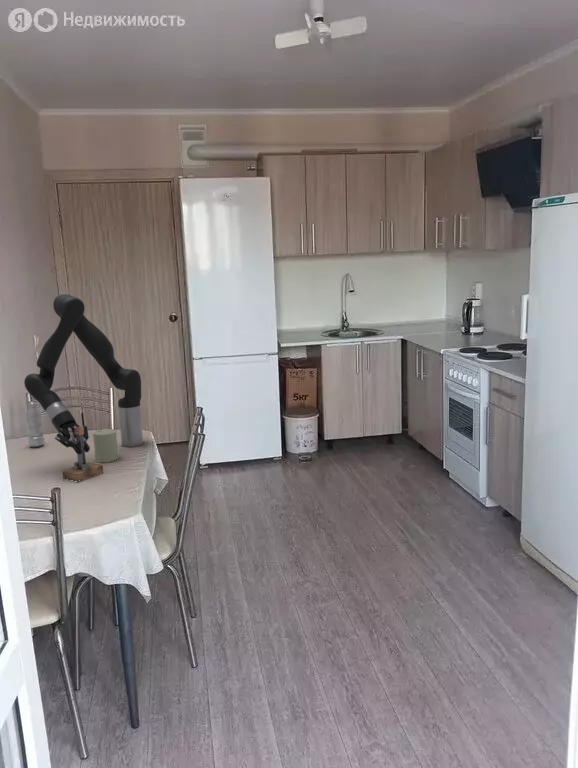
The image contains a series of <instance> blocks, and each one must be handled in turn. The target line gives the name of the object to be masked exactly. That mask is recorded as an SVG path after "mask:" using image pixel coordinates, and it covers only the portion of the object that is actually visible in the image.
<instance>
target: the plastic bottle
mask: <svg viewBox="0 0 578 768" xmlns="http://www.w3.org/2000/svg"><path fill="white" fill-rule="evenodd" d="M27 407H28V408H27V409H26V411H25V418H26V421H27V427H28V439H27V441H28V445H29V446H30V447H31V448H36V447H37V448H38V447H42V446H43V445H44V444H45V437H44V436H45V435H44V432H43V428H42V415H43V414H42V410H41V409H40V407H38V401H37V400H30V401H28V402H27Z"/></svg>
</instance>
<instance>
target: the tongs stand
mask: <svg viewBox="0 0 578 768" xmlns="http://www.w3.org/2000/svg"><path fill="white" fill-rule="evenodd" d="M61 472H62V479H63V480H66V479H68V480H67V481H70V480H73V481H79V480H82V481H84V480H83V479H85V478H88V477H91V476H93V477H95V476H94V475H96V476H98V475H97V474H99V475H101V474H103V473H104V465H102V464H99V463H94V462H90V461H88V462H87V461H86V463H85V464H83V465H82V468H80V467H78V461H76V462H74V463H73V466H72V467H69V468H68V469H64V470H62V471H61ZM100 473H101V474H100ZM91 478H92V477H91ZM88 479H89V478H88ZM85 480H86V479H85ZM73 481H72V482H73Z"/></svg>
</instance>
